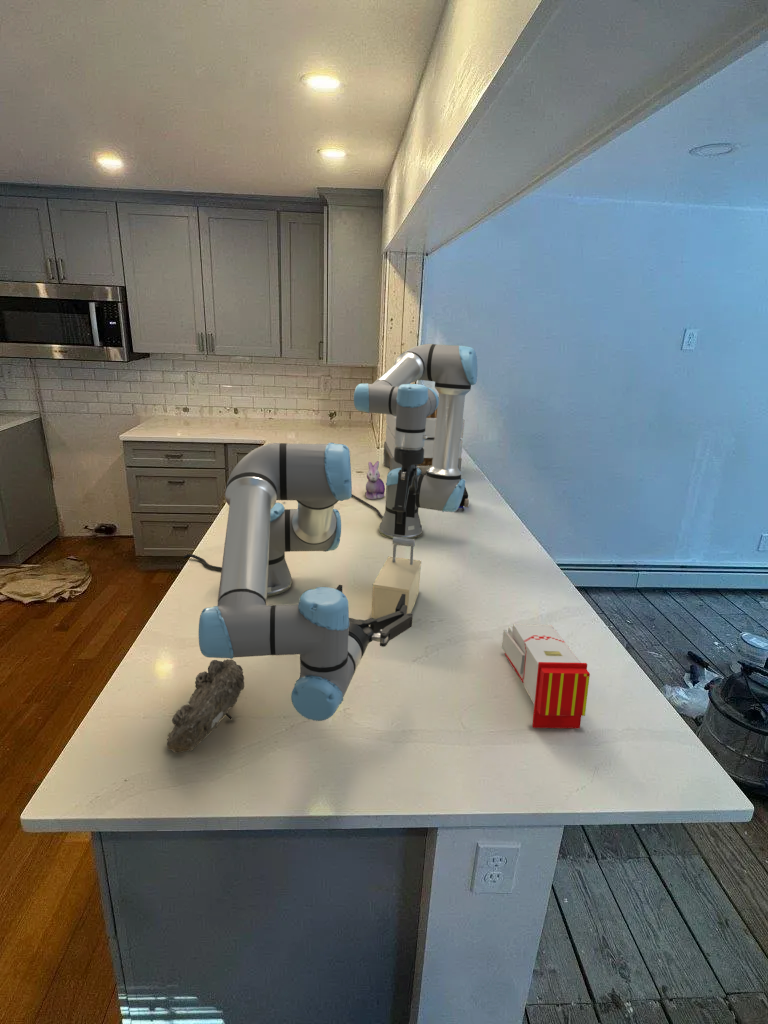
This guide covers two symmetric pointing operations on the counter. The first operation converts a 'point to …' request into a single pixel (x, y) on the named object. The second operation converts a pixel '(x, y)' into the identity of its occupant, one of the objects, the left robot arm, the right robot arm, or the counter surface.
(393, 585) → the lid
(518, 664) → the toy
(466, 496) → the figurine character
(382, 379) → the right robot arm
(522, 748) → the counter surface
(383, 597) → the chest
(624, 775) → the counter surface
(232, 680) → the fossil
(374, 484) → the figurine
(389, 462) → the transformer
